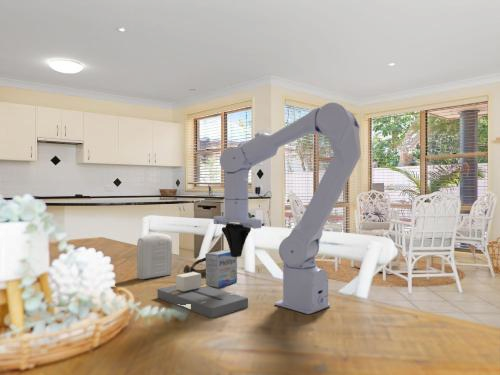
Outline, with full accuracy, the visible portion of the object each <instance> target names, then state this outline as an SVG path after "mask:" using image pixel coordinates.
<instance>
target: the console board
mask: <svg viewBox="0 0 500 375" xmlns="http://www.w3.org/2000/svg"><path fill="white" fill-rule="evenodd" d="M156 290H157V292H156V293H157V296H156V297H157V299H160V300H162V301H166V302H168V303H171V304H172V305H173V304H174V305H176V304H180V305H186V304H191V310H190V311H192V312H194V313H197V314H200V315H202V316H206V317H207V318H210V319H215V318H217V317H220V316H224V315H227V314H230V313H233V312H237V311H241V310H243V309H246V308H249V297H246V296H243V295H239V294H236V293H232V292H229V291H226V290H222V289H219V288H216V287H211V286H207V285H206V284H202V283H201V288H197V289H192V290H188V291H181V290H178V289H176V284H174V285H169V286H165V287H161V288H157V289H156Z"/></svg>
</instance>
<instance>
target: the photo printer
mask: <svg viewBox="0 0 500 375" xmlns="http://www.w3.org/2000/svg"><path fill="white" fill-rule="evenodd" d="M136 254H137V255H136V258H137V260H136V261H137V262H136V276H137V279H139V280H147V279H152V278H159V277H164V276H171V275H172V270H173V269H172V268H173V240H172V237H171V235H169V234H167V233H166V234H165V233H160V232H157V233H149V234H145V235H143V236H141V237H139V238H138V239H137V252H136Z"/></svg>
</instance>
